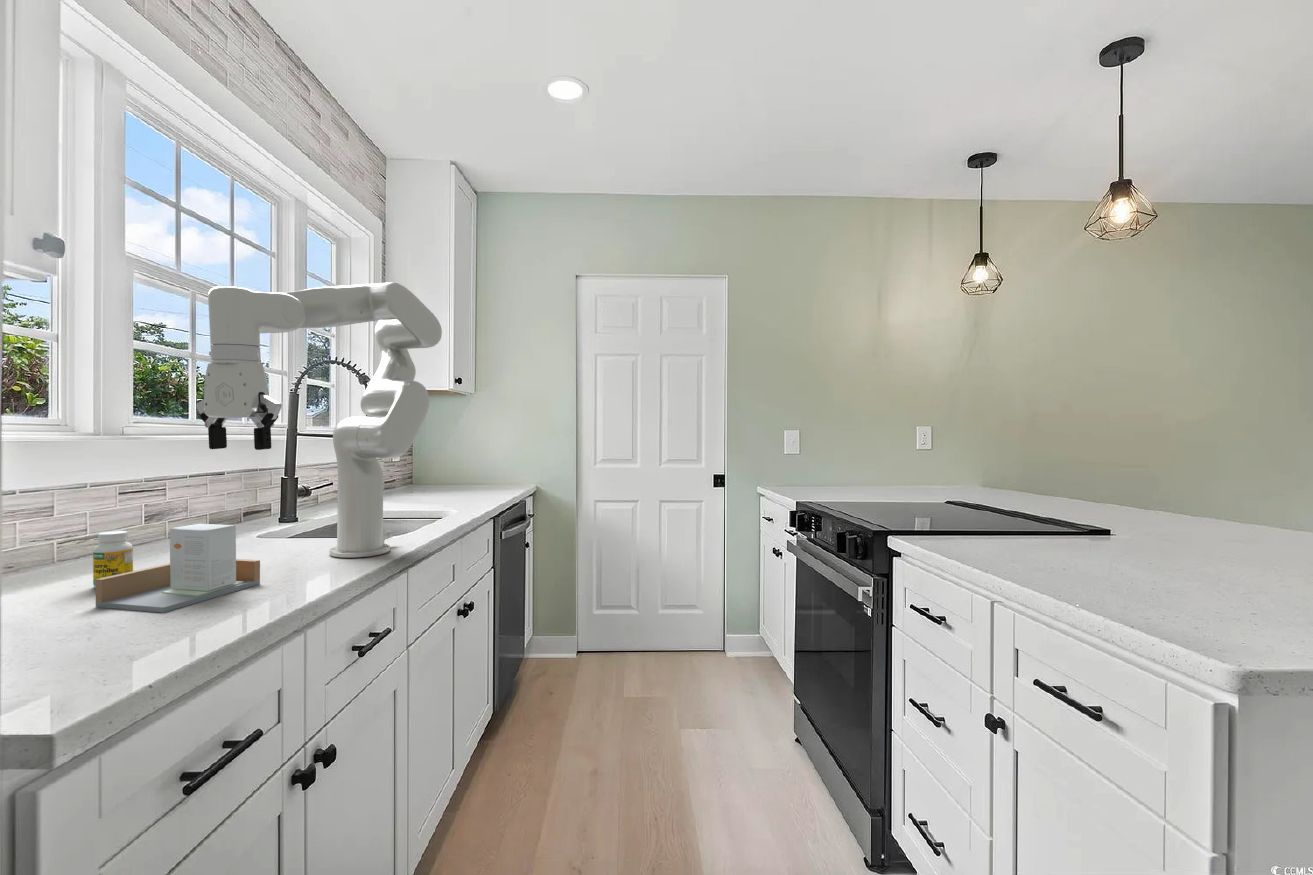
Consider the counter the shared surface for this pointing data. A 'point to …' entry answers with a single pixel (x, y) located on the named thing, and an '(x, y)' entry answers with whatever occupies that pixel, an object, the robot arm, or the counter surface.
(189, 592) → the pad
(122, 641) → the counter surface
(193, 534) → the small box
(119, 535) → the supplement bottle
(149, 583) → the arena
